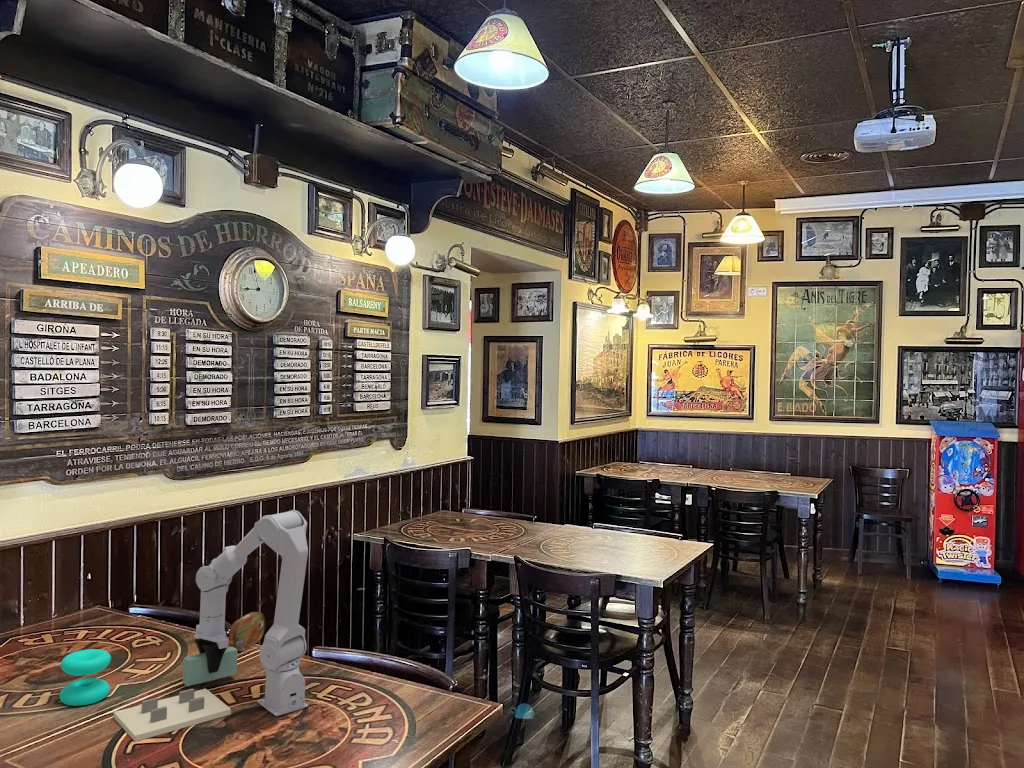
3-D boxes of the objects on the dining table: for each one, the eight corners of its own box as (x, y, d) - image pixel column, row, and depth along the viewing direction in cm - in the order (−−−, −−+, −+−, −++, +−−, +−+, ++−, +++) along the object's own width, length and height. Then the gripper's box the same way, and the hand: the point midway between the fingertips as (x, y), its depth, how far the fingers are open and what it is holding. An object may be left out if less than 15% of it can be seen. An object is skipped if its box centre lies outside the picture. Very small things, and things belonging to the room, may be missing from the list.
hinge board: (230, 714, 166) (231, 698, 166) (134, 741, 152) (135, 724, 152) (205, 693, 176) (206, 678, 176) (113, 717, 163) (114, 700, 162)
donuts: (71, 666, 164) (54, 654, 170) (69, 712, 164) (52, 698, 170) (118, 655, 172) (100, 644, 178) (116, 698, 172) (98, 685, 178)
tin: (236, 656, 201) (237, 624, 201) (225, 654, 201) (227, 623, 201) (265, 637, 215) (267, 608, 215) (255, 636, 216) (257, 607, 216)
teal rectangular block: (236, 674, 185) (237, 649, 185) (187, 686, 177) (188, 661, 177) (231, 670, 187) (232, 646, 187) (182, 682, 179) (183, 657, 179)
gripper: (184, 609, 184) (182, 664, 184) (208, 625, 174) (205, 683, 174) (212, 604, 189) (210, 658, 189) (237, 619, 179) (235, 675, 179)
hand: (210, 669), depth 182 cm, fingers closed on teal rectangular block, 3 cm apart
